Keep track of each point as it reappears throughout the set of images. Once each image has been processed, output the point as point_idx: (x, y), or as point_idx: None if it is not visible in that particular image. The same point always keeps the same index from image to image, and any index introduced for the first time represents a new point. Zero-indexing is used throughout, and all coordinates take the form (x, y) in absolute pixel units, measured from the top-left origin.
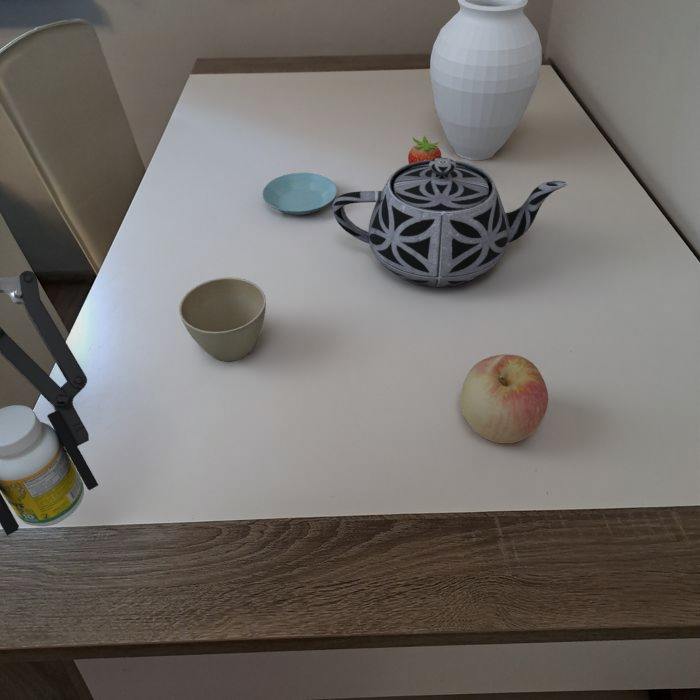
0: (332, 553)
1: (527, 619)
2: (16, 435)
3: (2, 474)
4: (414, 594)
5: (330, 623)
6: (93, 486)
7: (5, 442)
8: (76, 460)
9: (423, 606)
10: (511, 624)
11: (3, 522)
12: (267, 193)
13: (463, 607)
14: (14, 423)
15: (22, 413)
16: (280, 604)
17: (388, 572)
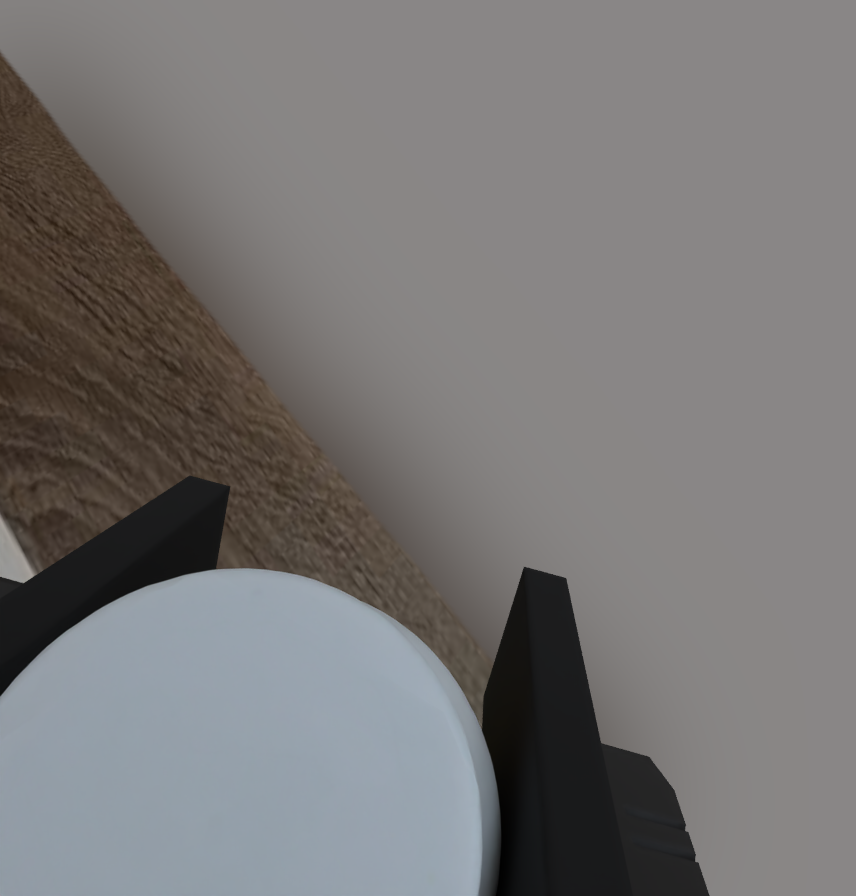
0: (22, 342)
1: (14, 85)
2: (255, 627)
3: (461, 697)
4: (44, 205)
5: (164, 281)
6: (206, 484)
7: (356, 629)
8: (148, 533)
9: (60, 189)
10: (33, 97)
11: (559, 598)
12: None
13: (34, 148)
14: (163, 775)
15: (21, 839)
16: (176, 363)
17: (20, 250)
